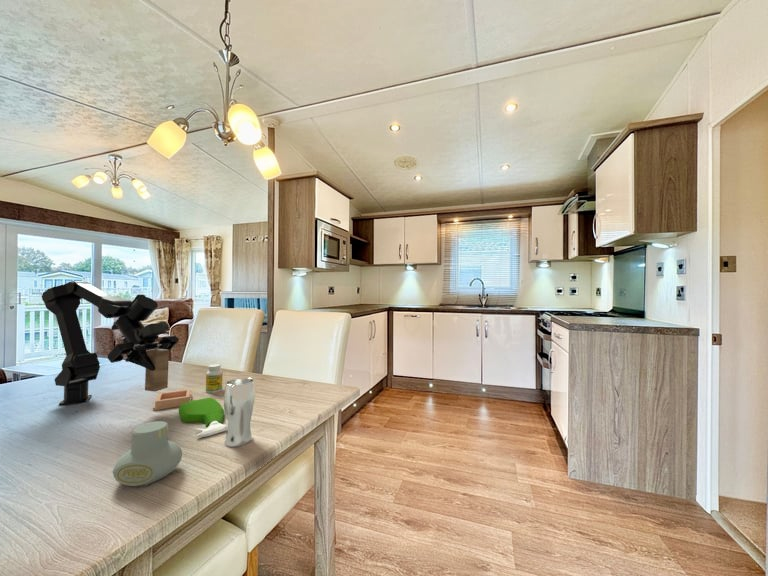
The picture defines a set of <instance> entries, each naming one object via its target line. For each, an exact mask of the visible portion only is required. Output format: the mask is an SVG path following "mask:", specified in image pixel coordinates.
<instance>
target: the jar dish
mask: <svg viewBox="0 0 768 576" xmlns="http://www.w3.org/2000/svg"><path fill="white" fill-rule="evenodd" d="M192 396H193V393H191V388H190V389H189V388H188V389H181V390H174V391H167V392H166V391H165V392H160V393H159V392H158V394H157V397H156V400H155V401H154V404H153V407H152V411H156V410H157V411H158V410H165V409H171V408H177V407H178V408H179V407H180V406H181V405H182V404H183V403H184V402H189V401H192Z"/></svg>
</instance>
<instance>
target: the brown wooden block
mask: <svg viewBox="0 0 768 576" xmlns="http://www.w3.org/2000/svg"><path fill="white" fill-rule="evenodd" d="M146 354H147V355H148V357H149V358H150V360H151V361H152V363H153V364H154V366H155V370H154V371H151V370H149V369H147V368H145V377H144V381H145V383H144V391H146V392H147V391H148V392H153V393H154V392H155V393H156V392H159V391H162V390H165V389H167V388H169V387H168V385H169V365H168V364H169V359H170V358H169V355H170V353H169V350H166V349H156V350H147V351H146Z"/></svg>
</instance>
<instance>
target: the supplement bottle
mask: <svg viewBox="0 0 768 576" xmlns="http://www.w3.org/2000/svg"><path fill="white" fill-rule="evenodd" d="M207 370H208V371H207V372H206V374H205V375H206V376H205V392H206V393H207V394H208V393H209V394H216V393H219V392H221V391H222V390H223V371H222V368H221V364H218V363H217V364H216V363H215V364H210V365H208V367H207Z"/></svg>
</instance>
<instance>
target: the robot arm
mask: <svg viewBox="0 0 768 576" xmlns="http://www.w3.org/2000/svg"><path fill="white" fill-rule="evenodd" d="M41 300H42V301H43V303H44V306H45V308H46V309H47V310H48V311H49V312H51V314H53V315H55V319H56V322H57V325H58V328H59V329H58V330H59V333H60V336H61V340H62V343H63V348H64V351H65V357H64V360H63V361H62V363H61V371H60V372H59V373H58V374H57V376H55V378H54V383H55V386H59V387H63V400H61V401H60V402H59V403H58V406H63V405H73V404H79V403H80V404H81V403H85V402H88V401H89V399H90V398H92V396H93V395H92V394H89V382H90V381H94V380H97V378H98V375H99V372H100V368H101V365H100V361H99V359H98V354H97V353H96V352H91V351H89V350H88V348H87V344H86V341H85V338H84V334H83V330H82V328H81V324H80V323H81V322H80V320H79V316H78V313H77V310H78V309H79V307H80V304H81V300H85V301H86V302H89V303H91V304H92V305H93V306H96V307H97V311H98V313H100V314H101V315H102V316H103V317H104V318H106V319H116V320H115V321H113V322H112V323H113V324H112V326H111V331H120V333H121V334H122V336H123V337H124V338H123V339H122V342H119V343H116V344H115V346H114V347H113V348H112V349H110V351H109V352H108V354H107V360H108V361H109V362H110V363H111V364H113V363H114V364H115V363H117V362H122V360H123V359H124V356H123V355H125V356H126V357H127V358H126V359H125V360H124V361H125V363H132V364H135V365H138V366H140V367H143V368H145V369H146V368H147V369H149V370H151V371H154V370H155V366H154V364H153V363H152V361H151V360H150V358H149V357H148V355H147V354H146V351H150V350H156V349H166V350H169V351H172V349H174V347H175V346H176V345H177V343H178V342H179V341H180V340H179V338H178V337H177V336H176V335H168V336H163V337H162V338H161V339H160V340H159V341H157V340H158V339H159V336H160V335H162V334H165V333H166V332H167V331H169V330H170V327H169V323H167V322H166V321H165V320H164V321H159V322H155V323H149V324H147V325H145V326H144V324H143V323H142V322H144V321H147V320H148V318H149V317H150V316H151V315H152V314H153V313H154V312H155V310H156V309H157V308H158V307H159V306H158V302H157V301H156V300H154V299H152V298H151V297H148V296H146V295H145V294H137V295H136V296H135V298H134V299H133V300H132V301H131V300H130V299H127V298H123V297H117V296H112V295H110V294H109V293H106V292H105V291H103V290H101V289H100V288H97V287H96V286H93V285H92V284H91V282H88V281H82V280H81V281H78V280H71V281H69V282H66V283H65V284H61V285H60V284H59V285H56V286H53V287H49V288H47V289H46V290H45V291H44V292H43V293H42V294H41ZM168 366H169V363H168Z"/></svg>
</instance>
